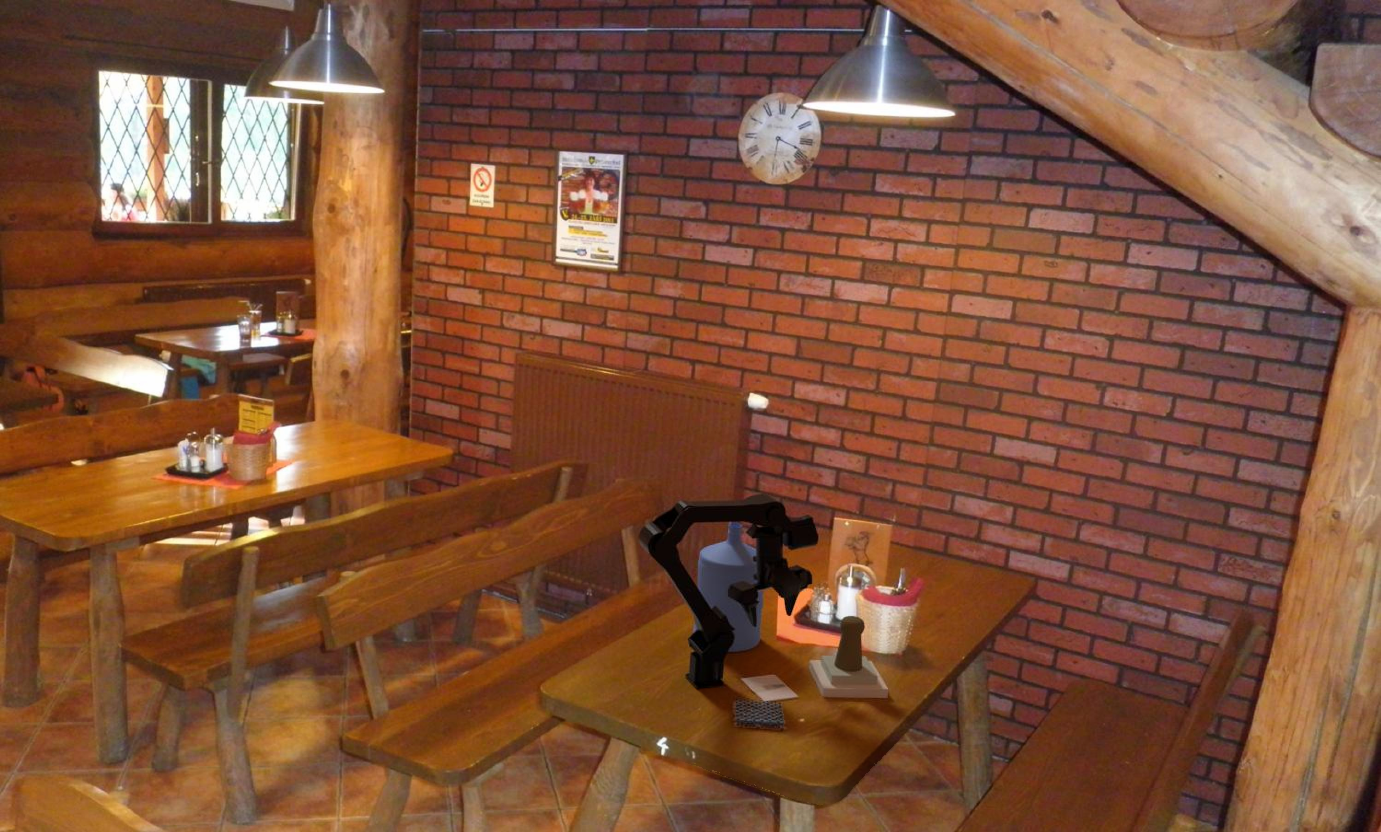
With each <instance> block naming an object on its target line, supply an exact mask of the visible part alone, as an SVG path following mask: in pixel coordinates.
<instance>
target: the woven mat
mask: <svg viewBox="0 0 1381 832" xmlns="http://www.w3.org/2000/svg"><path fill="white" fill-rule="evenodd" d="M732 702H733V703H732V708H733V709H732V713H733V714H734V718H733V719H732V720H733V721H734V722H733V727H736V728H741V729H742V728H744V729H745V728H746V729H747V728H749V729H758V730H759V729H762V730H763V729H764V730H778V731H779V730H781V731H785V730H787V727H786V726H785V724H786V720H785V714H784V709H783V704H782V703H781V702H778V703H777V701H771V702H768V701H767V702H763V701H762V700H761V699H760V700H758V701H757V700H755V701H754V699H751V700H747V701H746V699H745V698H744V699H743V700H741V699H740V700H738V698H735V700H734V701H732ZM773 702H774V703H773Z"/></svg>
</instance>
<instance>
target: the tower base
mask: <svg viewBox="0 0 1381 832" xmlns="http://www.w3.org/2000/svg"><path fill="white" fill-rule="evenodd" d="M835 659H836V655H821V658H820V659H819V660H818V659H817V660H816V659H810V660H809V666H808V669H809V671H810V674H811V675H812V677H813V679H814V682H815V683H816V686H817V689H818V690H819V692H820V694H821V696H822V698H852V699H853V698H855V699H857V698H859V699H861V698H862V699H863V698H864V699H865V698H868V699H869V698H871V699H873V698H874V699H876V698H877V699H888V697H889V695H888V694H889V688H888V687H887V684H886V683H885V681H884V680H883V677H882V676H881V674H879V671H878V670H877V668H876V666H875V665H874V663H873V661H872V660H868V657H867V656H865V655H864V656H863V655H862V669H861V670H860V671H856V672H848V671H843V670H840V669H838V668H836V666H835V665H834V663H835Z"/></svg>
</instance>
